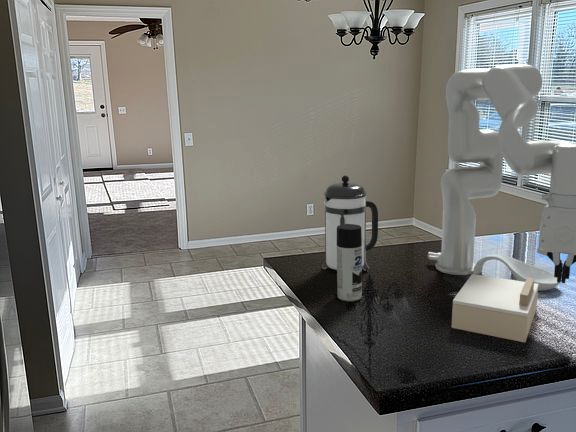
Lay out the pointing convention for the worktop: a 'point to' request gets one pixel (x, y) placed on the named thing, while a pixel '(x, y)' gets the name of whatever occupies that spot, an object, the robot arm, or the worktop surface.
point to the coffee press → (347, 217)
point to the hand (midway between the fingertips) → (561, 281)
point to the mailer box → (493, 321)
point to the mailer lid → (498, 294)
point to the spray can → (349, 262)
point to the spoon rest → (522, 271)
